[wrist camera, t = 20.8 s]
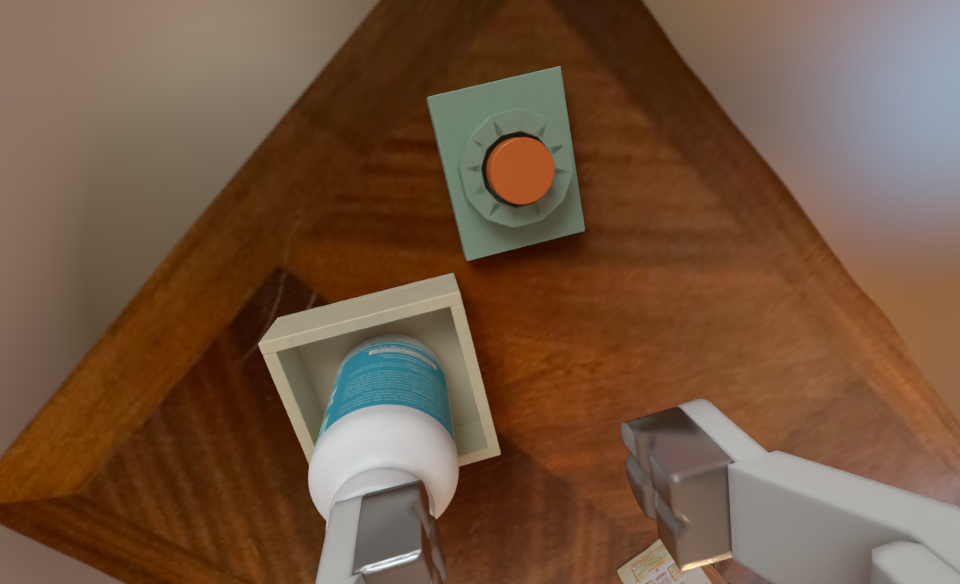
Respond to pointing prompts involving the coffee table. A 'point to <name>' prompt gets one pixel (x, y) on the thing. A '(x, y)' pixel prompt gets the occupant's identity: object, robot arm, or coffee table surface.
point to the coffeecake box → (664, 569)
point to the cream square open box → (343, 325)
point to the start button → (520, 170)
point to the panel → (472, 137)
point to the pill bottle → (386, 426)
